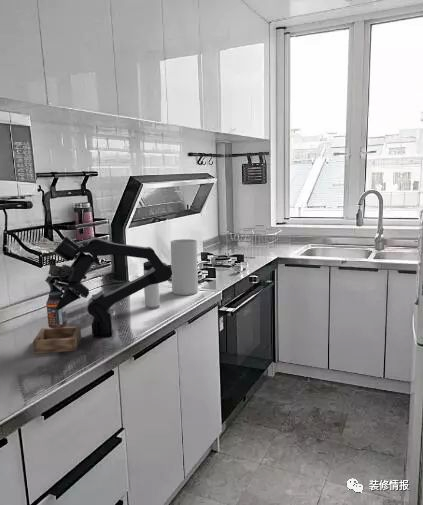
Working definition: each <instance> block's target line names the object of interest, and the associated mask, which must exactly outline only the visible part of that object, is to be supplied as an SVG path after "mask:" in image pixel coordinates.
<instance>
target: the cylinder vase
mask: <svg viewBox="0 0 423 505" xmlns="http://www.w3.org/2000/svg"><path fill="white" fill-rule="evenodd" d="M170 268H171V270H172V276H171V291H172V294H174V295H177V296H189V295H190V296H191V295H194V294H197V293H198V292H199V279H198V277H199V273H198V271H199V270H198V240H197V239H191V238H189V239H186V238H185V239H174V240H171V241H170Z"/></svg>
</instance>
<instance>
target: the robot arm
mask: <svg viewBox="0 0 423 505" xmlns="http://www.w3.org/2000/svg"><path fill="white" fill-rule="evenodd" d="M53 253H54V254H56V255H57V256H59V257H60V258H62V259H63V260H64V261H66V262H69V261H71V262H72V261H73V262H72V263H71V265H66V264H63V265H62V266H59V265H55V264H51V265H50V267H49V270H48V273H47V274H48V275H49V276H47V278H45V280H44V281H45V282H46V283H47V284H48V286H49V289H50V290H49V294H50V293H53V292H61V297H62V298H61V300H60V301H59V303H58V305H57V307H56V309H57V310H60V309H61V308H63V307H65V306H66V307H67V306H68V305H70V304H71V303H73V302H75V301H76V300H80V299H81V298H84V299H87V297H88V296H89V294H90V289H89V288H88V287H86V286H85V285H84V284H83V283H82V281H83V280H86V279H87V276H86V274H87V273H88V272H89V271H90V269H91V268H92V266H93V265H94V266H95V267H98V266H99V265H100V260H99V259H100V258H99V257H100V256H101V257H103V256H105V257H106V256H112V255H113V256H123V257H132V258H138V259H139V258H140V259H146V260H147V261H149V262H150V264H151V265H152V266H153V267H152V268H151V269H150V270H149V271H148V272H147V273H146V274H144V273H143V275H141V276H139V277H136V278H135V279H133V280H130V281H129V282H127V283H125V284H123V285H121V286H120V287H118V288H116V289H114V290H111V291H110V292H106V293H104V291H103V290H100V291H99V292H97V293H95V294H92V295H91V297H90V298H89V299H88V301H87V312H88V314H89V315H91V316H92V317H93V318H92V322H91V335H92V337H93V338H106V337H112V336H113V334H114V329H113V317H112V316H113V315H111V307H113V305H115V304H116V303H118V302H120V301H122V300H124V299H125V298H128V297H130V296H131V295H133V294H135V293H137V292H140V291H141V290H144V288H145V287H147V286H149V285H152V284H158V283H159V284H161V283H164V282H168V281H169V280H170V279H172V270H171V266H169V265H168V264H167V263H166V262H162V260H161V259H160V257H159V256H158V255H157V254H156V252H155V250H154V249H153V248H152V247H151V246H138V245H129V244H123V243H117V242H112V241H109V240H107V239H103V238H101V237H92V238H90V239H89V240H87V242H83V243H79V244H77V243H76V242H74V241H73V240H71V238H70V237H69V236H64V238H62V241H61V242H59V244H58V245H57V246H56V247H55V249H54V251H53ZM76 256H77V257H76ZM48 300H49V296H48V298H47V300H46V302H47V301H48Z"/></svg>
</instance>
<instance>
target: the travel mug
mask: <svg viewBox="0 0 423 505" xmlns="http://www.w3.org/2000/svg"><path fill="white" fill-rule="evenodd" d="M142 264H143V265H142V266H143V275H144V274H146V273H147V272H148V271H149V270H150V269H151V268H152V267H153V266H152V265H151V264H150V262H149V261H148V260H147V261H144V262H143V263H142ZM143 291H144V293H143V294H144V308H145V309H146V310H157V309H159V308H160V306H161V305H160V283H158V284H152V285H149V286H147V287H145V288H143Z"/></svg>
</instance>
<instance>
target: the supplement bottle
mask: <svg viewBox="0 0 423 505" xmlns="http://www.w3.org/2000/svg"><path fill="white" fill-rule="evenodd" d="M48 297H49V300H48V299H47V300H48V301H47V300H46V302H45V303H46V304H45V306H46V315H47V323H48V324H47V325H48V328H53V329H57V328H62V327H67V325H68V319H67V305H66V306H65V307H63V308H61V309H60V310H57V309H56V307H57V305H58V303H59V301H60V300H61V298H62V296H61V292H53V293H50V292H49V293H48Z"/></svg>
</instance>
